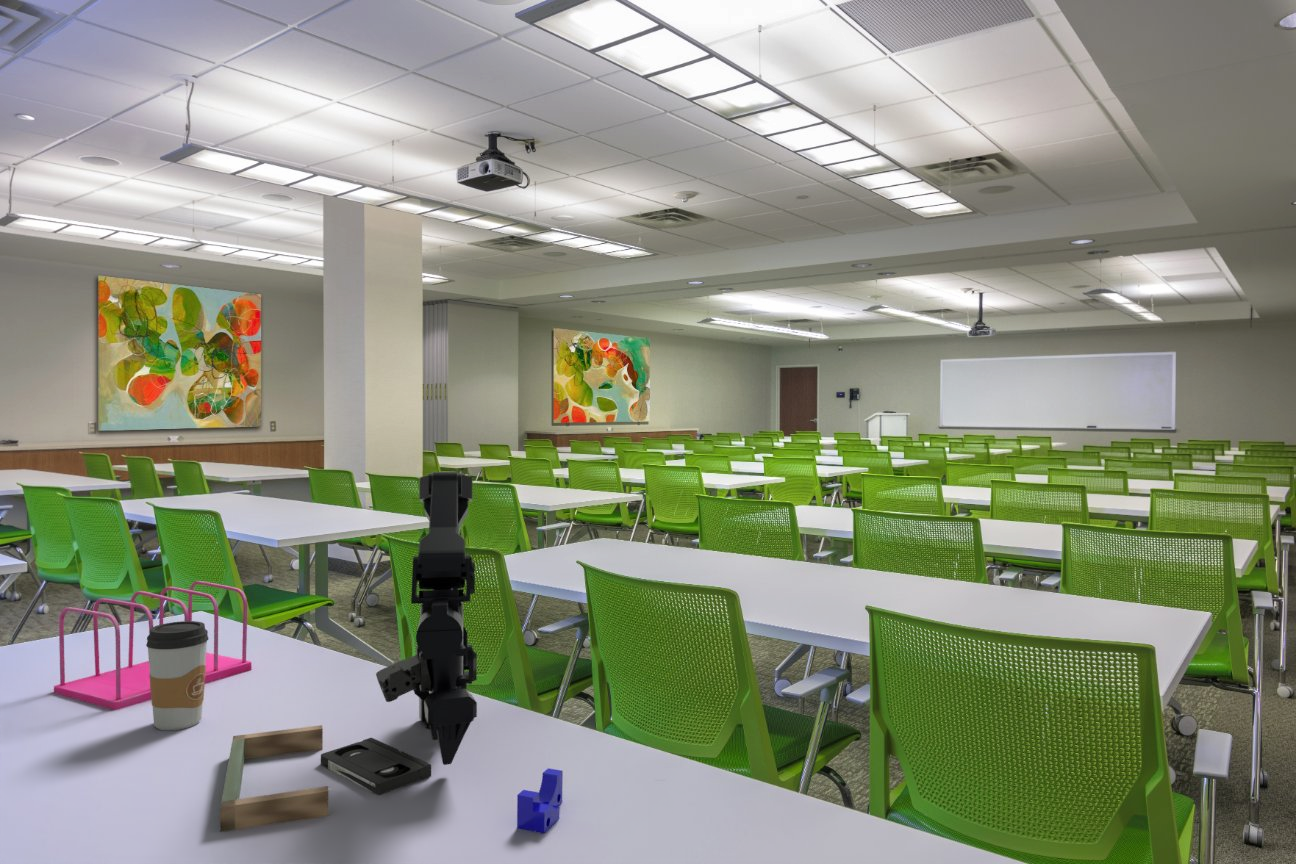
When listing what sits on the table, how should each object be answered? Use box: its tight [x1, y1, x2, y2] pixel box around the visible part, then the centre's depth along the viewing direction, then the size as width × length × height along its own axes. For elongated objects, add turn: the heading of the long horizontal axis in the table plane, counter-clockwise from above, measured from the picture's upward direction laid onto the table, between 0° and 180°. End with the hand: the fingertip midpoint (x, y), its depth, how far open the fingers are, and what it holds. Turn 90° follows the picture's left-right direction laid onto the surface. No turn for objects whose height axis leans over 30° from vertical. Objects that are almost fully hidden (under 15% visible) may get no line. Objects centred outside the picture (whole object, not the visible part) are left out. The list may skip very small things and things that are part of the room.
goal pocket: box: [219, 724, 329, 833], centre depth 111 cm, size 12×23×3 cm, turn 22°
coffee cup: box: [145, 620, 209, 731], centre depth 131 cm, size 8×8×15 cm
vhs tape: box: [320, 737, 432, 796], centre depth 116 cm, size 14×8×2 cm, turn 50°
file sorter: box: [53, 580, 253, 711], centre depth 151 cm, size 17×25×16 cm
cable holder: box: [516, 767, 564, 834], centre depth 103 cm, size 8×4×4 cm, turn 161°
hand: (441, 751), depth 119 cm, fingers open, 9 cm apart
